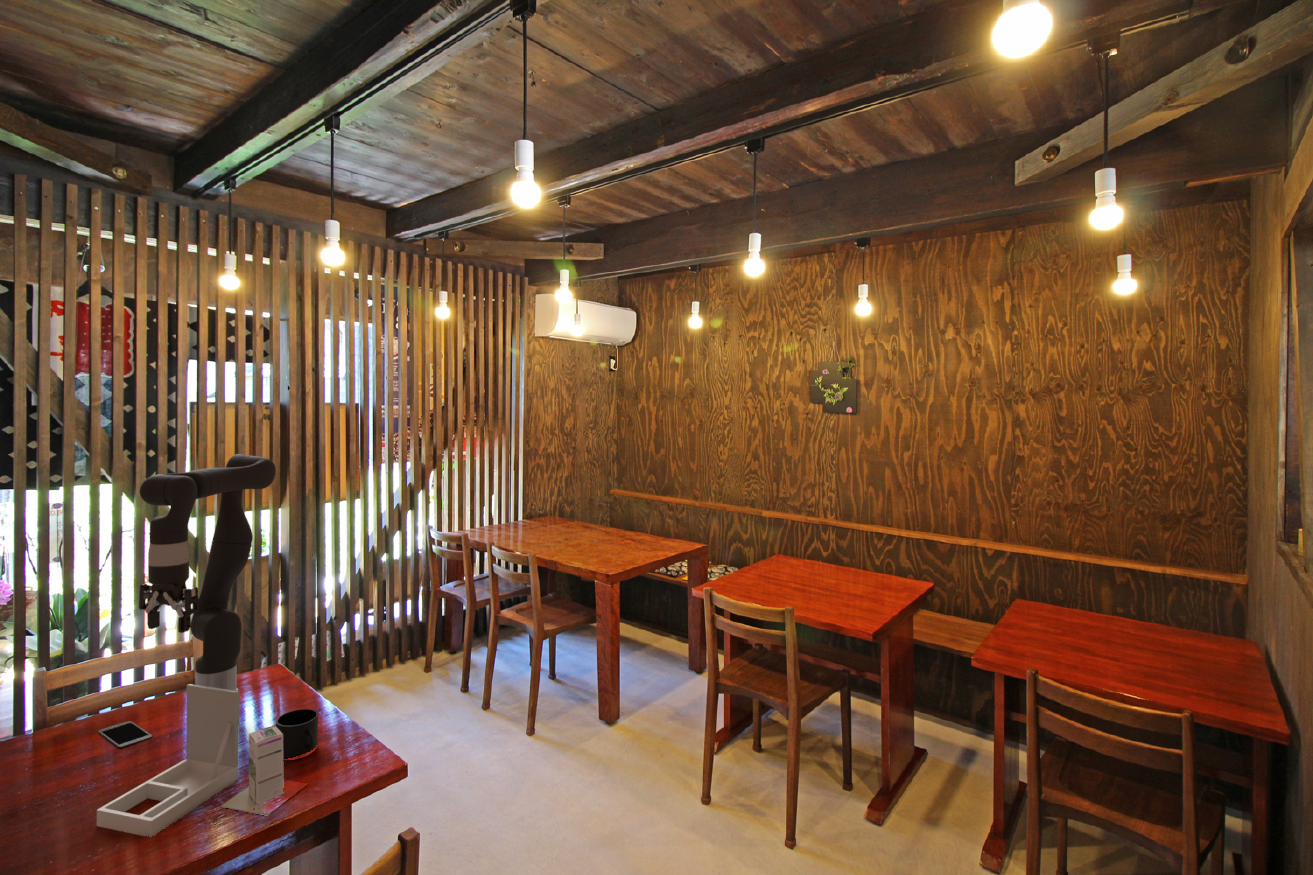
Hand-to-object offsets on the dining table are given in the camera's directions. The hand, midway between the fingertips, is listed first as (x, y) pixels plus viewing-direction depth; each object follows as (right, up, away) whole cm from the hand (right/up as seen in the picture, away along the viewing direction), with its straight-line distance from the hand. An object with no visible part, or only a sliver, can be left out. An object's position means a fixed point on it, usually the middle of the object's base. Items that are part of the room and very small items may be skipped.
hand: (168, 629), depth 146 cm
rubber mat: (+24, -37, -3) cm, 44 cm away
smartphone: (-28, -35, +21) cm, 49 cm away
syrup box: (+25, -37, -3) cm, 44 cm away
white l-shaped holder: (+5, -37, -6) cm, 37 cm away
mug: (+22, -37, +15) cm, 45 cm away
